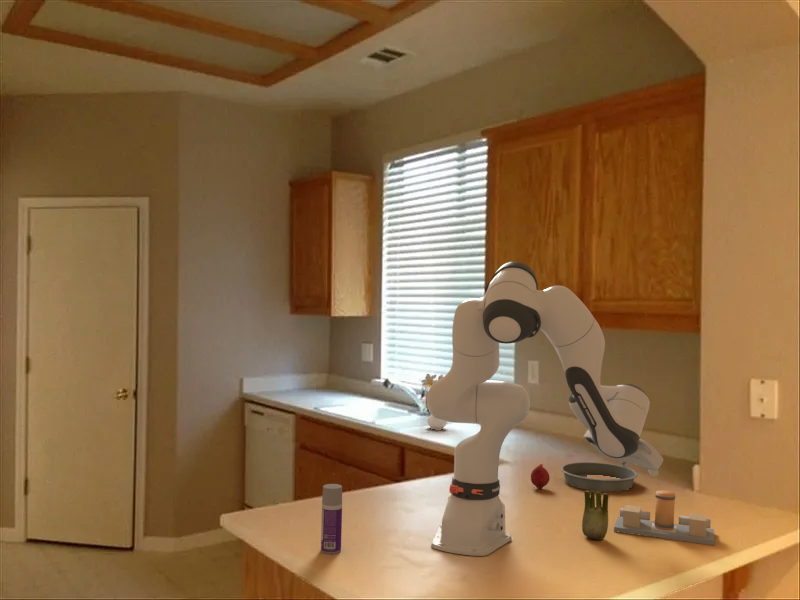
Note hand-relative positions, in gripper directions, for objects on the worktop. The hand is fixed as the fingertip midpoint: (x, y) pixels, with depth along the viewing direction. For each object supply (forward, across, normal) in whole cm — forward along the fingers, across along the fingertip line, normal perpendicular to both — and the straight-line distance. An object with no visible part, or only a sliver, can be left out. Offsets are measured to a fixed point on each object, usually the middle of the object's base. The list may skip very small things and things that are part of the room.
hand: (641, 470), depth 185 cm
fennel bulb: (+3, +3, +21) cm, 21 cm away
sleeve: (+17, 0, +5) cm, 17 cm away
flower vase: (+30, +151, -6) cm, 154 cm away
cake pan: (+32, +47, -7) cm, 57 cm away
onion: (+15, +47, +9) cm, 51 cm away
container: (-42, +19, +66) cm, 81 cm away
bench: (+18, 0, +6) cm, 19 cm away
